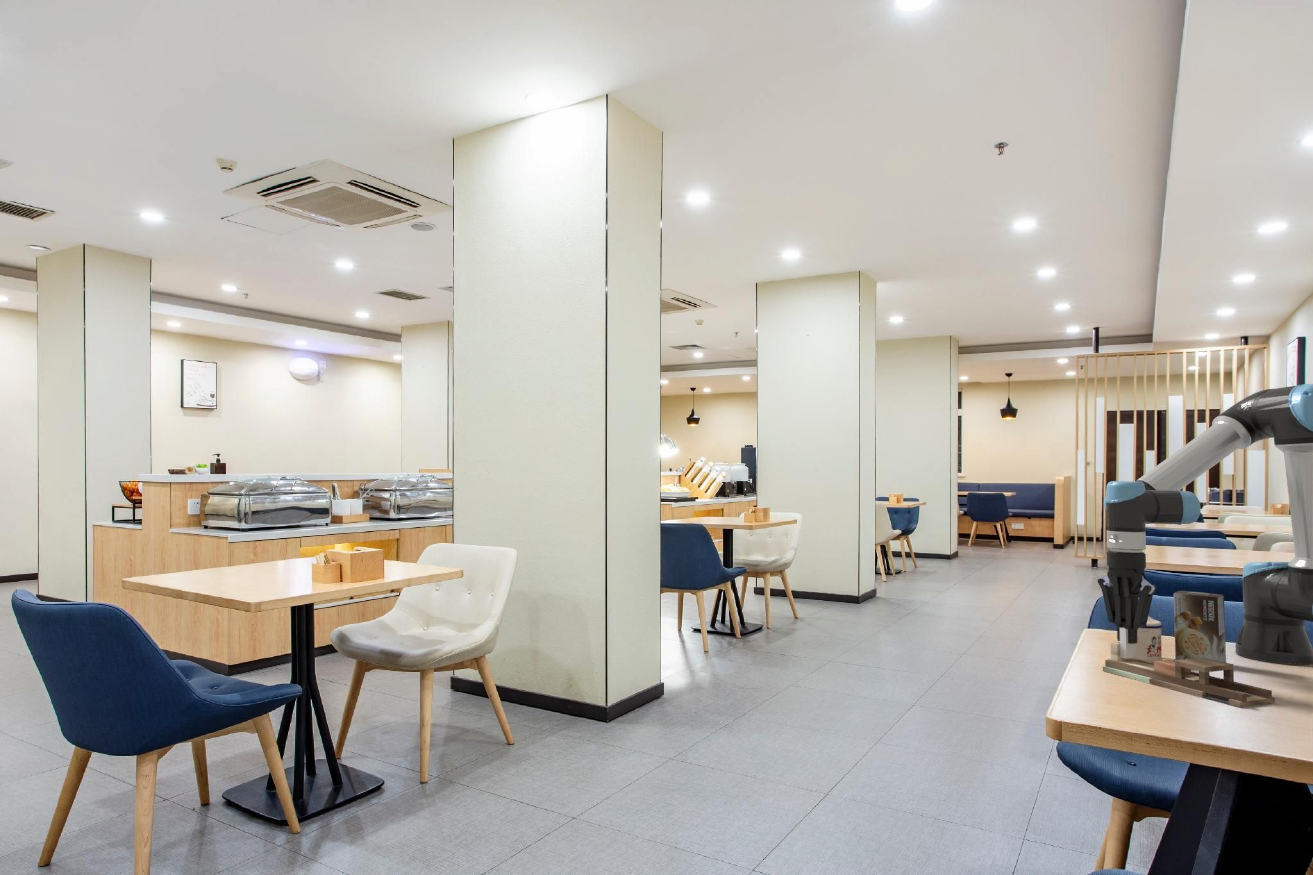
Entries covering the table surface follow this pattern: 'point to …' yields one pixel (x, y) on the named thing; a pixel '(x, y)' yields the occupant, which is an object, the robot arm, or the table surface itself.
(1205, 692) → the tunnel board
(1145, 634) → the teacup with lid
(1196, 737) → the table surface
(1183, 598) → the coffee box
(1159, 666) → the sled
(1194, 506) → the robot arm
